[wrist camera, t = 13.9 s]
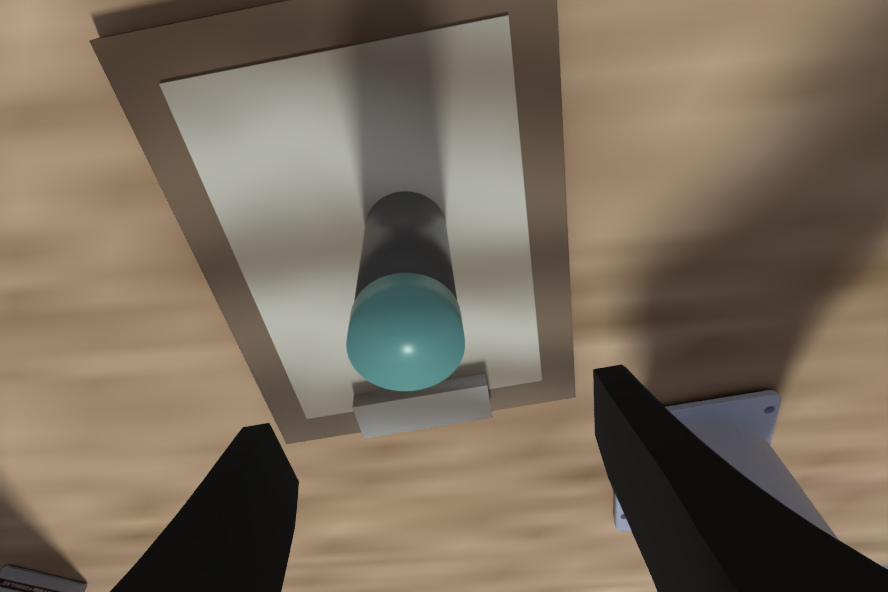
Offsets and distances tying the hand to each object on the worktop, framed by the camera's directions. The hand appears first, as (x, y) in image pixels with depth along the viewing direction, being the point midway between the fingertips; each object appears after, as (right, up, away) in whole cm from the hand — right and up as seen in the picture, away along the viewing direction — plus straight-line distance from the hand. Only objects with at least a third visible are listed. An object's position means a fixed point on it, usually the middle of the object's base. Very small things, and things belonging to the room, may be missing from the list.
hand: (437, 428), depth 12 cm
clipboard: (-2, +5, +9) cm, 11 cm away
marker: (-1, +5, +8) cm, 10 cm away
